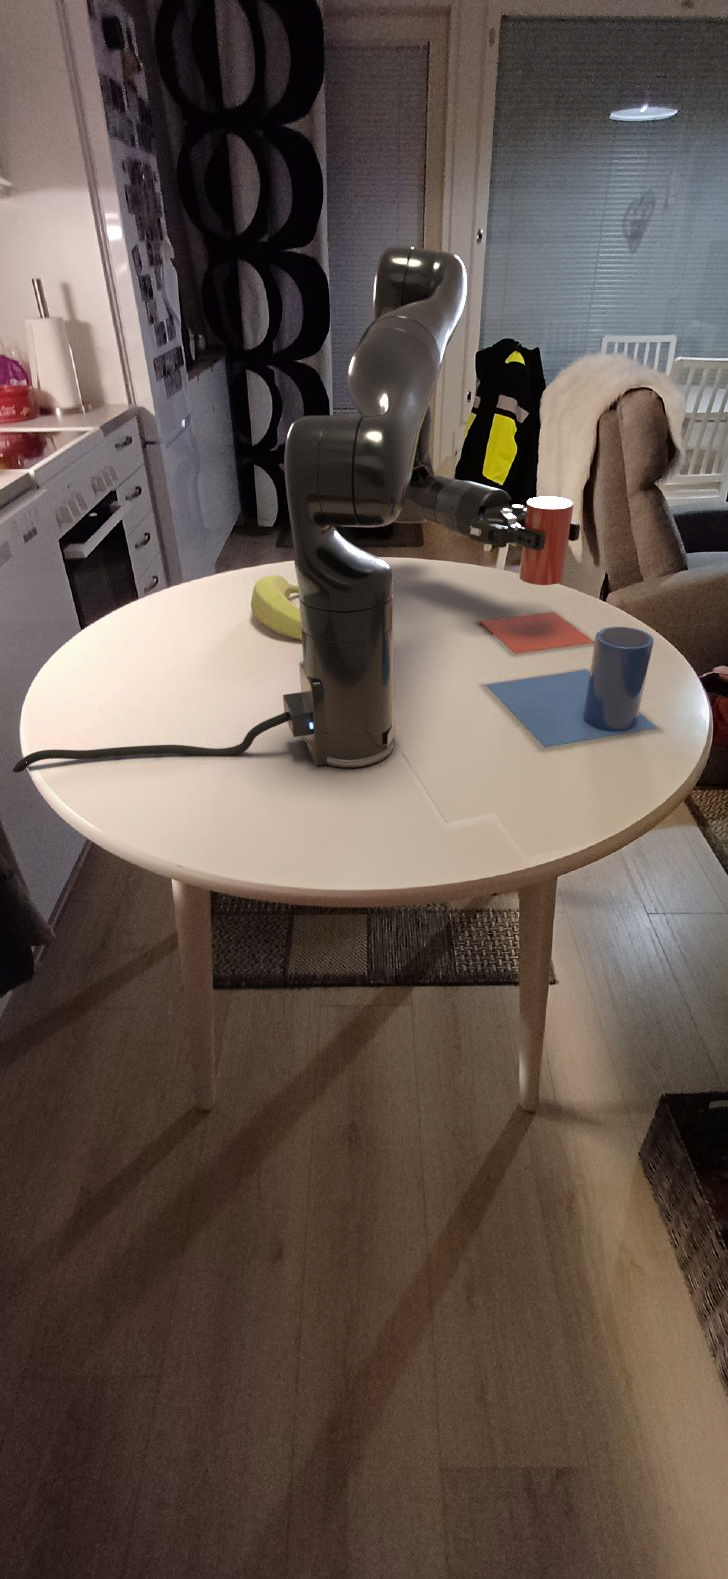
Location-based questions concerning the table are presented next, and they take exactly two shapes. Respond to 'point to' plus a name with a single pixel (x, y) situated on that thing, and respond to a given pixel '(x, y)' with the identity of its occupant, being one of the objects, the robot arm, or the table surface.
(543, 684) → the blue mat
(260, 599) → the banana
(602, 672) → the blue cup
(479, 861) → the table surface
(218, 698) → the table surface
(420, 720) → the table surface
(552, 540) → the red cup
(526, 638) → the red mat
